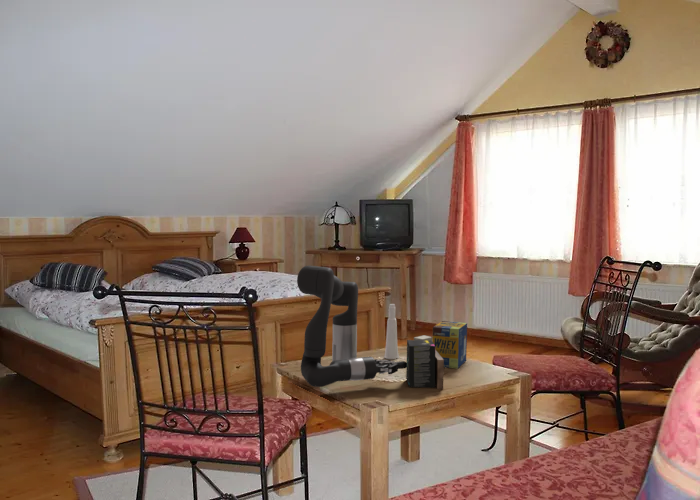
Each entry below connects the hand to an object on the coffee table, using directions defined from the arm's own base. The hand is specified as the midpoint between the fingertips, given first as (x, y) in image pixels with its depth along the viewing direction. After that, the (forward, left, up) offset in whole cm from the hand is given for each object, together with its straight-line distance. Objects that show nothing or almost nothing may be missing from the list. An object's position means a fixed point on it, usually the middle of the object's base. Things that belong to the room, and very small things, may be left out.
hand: (405, 364), depth 235 cm
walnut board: (+11, +3, -7) cm, 14 cm away
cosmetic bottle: (0, +41, -7) cm, 42 cm away
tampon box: (+5, +1, -7) cm, 9 cm away
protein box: (+22, +31, -7) cm, 39 cm away
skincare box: (+10, +23, -7) cm, 26 cm away
